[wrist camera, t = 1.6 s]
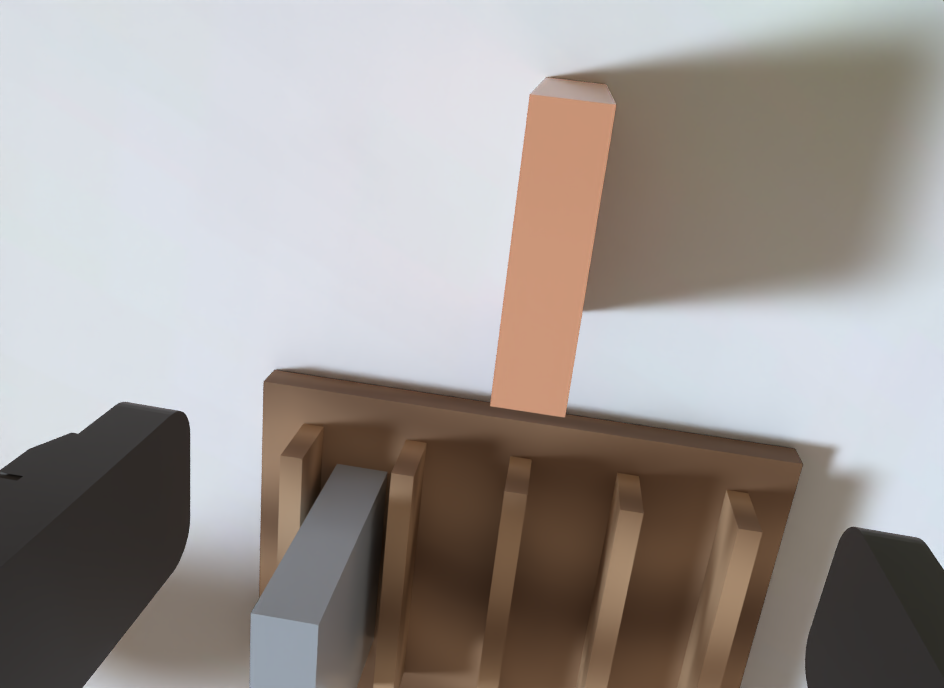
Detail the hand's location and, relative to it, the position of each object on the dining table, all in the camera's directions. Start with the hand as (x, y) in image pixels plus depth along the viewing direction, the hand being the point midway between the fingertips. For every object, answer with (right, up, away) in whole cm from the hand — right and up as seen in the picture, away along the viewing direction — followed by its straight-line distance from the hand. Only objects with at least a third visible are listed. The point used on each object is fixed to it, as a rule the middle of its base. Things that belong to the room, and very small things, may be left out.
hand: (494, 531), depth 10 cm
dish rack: (+1, -7, +24) cm, 25 cm away
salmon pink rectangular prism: (+3, +7, +19) cm, 20 cm away
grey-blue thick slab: (-5, -6, +23) cm, 25 cm away
